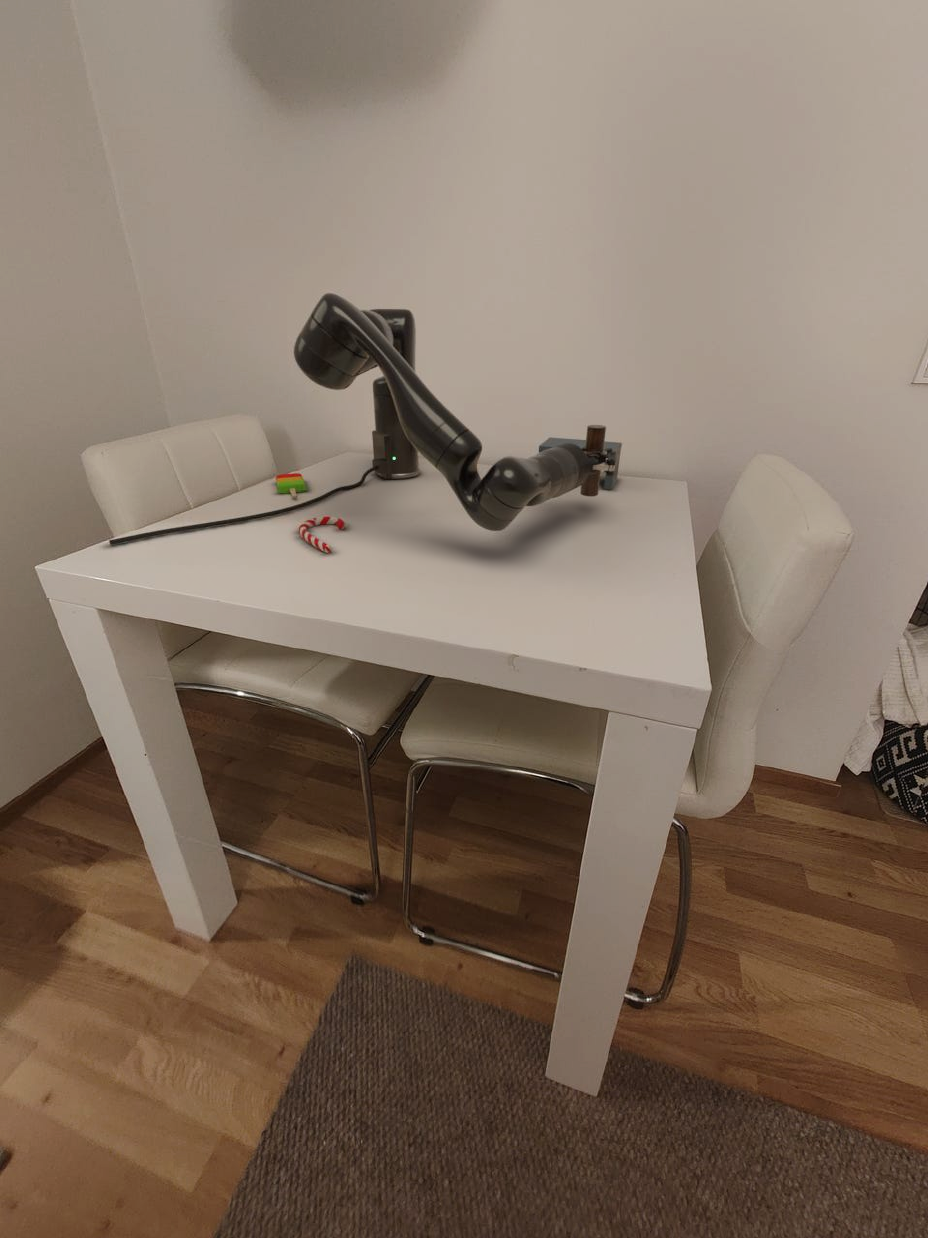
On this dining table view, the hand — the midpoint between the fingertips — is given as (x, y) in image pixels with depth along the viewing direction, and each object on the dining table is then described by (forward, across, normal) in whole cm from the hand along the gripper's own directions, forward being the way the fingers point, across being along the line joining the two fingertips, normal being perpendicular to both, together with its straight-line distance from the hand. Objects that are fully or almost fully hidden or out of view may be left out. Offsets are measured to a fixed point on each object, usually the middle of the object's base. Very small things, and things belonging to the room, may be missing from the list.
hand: (600, 452), depth 103 cm
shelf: (+16, -11, -10) cm, 22 cm away
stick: (-3, 0, -7) cm, 8 cm away
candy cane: (-41, -29, -10) cm, 52 cm away
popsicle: (-26, -55, -11) cm, 62 cm away
